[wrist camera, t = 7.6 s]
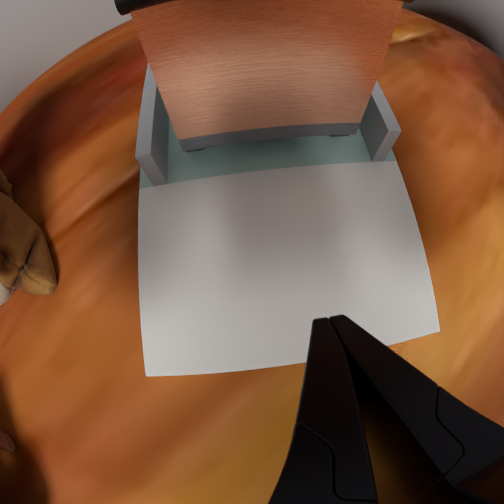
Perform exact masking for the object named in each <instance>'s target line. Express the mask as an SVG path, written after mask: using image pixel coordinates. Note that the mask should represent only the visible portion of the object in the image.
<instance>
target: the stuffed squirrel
mask: <svg viewBox="0 0 504 504" xmlns="http://www.w3.org/2000/svg"><path fill="white" fill-rule="evenodd" d="M11 189H12V184H9V183H8V181H7V177H6V176H4V173H3V170H1V168H0V306H1V305H2V304H3V303H5V302H6V301H8V300H9V298H10V297H11V296H12V294H13V293H14V291H15V289H18V290H20V291H23V292H26V293H30V294H36V295H50V294H52V293H53V292H54V290H55V287H56V286H57V279H56V273H55V268H54V264H53V261H52V258H51V255H50V251H49V248H48V245H47V242H46V238H45V236H44V233H43V231H42V230H41V228H40V227H39V226H38V225H37V224H36V223H35V222H34V221H33V220H32V219H31V218H30V217H29V216H28V215H27V214H26V213H25V212H24V211H23V210H22V209H21V208H20V207H19V206H18V205H17V204H16V203H15V202H14V201H13V195H12V192H11Z"/></svg>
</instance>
